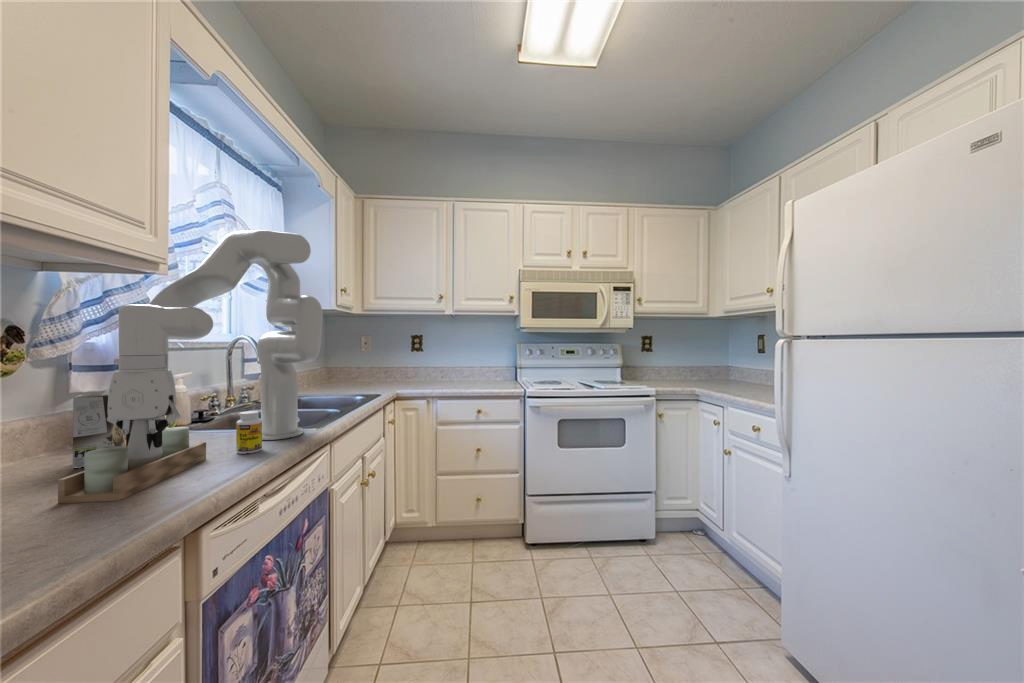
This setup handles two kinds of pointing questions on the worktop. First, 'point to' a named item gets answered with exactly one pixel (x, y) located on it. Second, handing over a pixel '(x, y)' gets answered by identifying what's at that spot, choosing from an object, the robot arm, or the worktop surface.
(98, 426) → the coffee box
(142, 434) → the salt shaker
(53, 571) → the worktop surface
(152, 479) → the spice rail
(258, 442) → the supplement bottle
